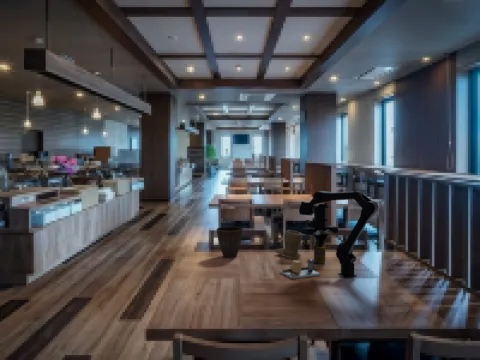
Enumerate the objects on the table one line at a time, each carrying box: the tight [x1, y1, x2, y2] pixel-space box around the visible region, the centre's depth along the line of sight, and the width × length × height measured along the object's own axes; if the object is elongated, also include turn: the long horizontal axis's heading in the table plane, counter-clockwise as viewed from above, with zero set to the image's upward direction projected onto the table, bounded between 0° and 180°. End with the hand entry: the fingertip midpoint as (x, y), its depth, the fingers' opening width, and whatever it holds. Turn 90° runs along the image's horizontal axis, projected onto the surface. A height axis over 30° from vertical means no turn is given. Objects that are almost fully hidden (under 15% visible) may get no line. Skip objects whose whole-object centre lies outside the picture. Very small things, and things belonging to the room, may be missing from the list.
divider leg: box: [289, 259, 302, 273], centre depth 211 cm, size 6×2×5 cm, turn 23°
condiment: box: [313, 240, 329, 267], centre depth 231 cm, size 7×8×12 cm
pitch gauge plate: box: [279, 258, 321, 280], centre depth 210 cm, size 11×16×6 cm
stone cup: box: [274, 229, 303, 259], centre depth 247 cm, size 15×12×15 cm
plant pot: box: [216, 226, 243, 259], centre depth 246 cm, size 15×15×16 cm
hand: (319, 247), depth 215 cm, fingers closed
